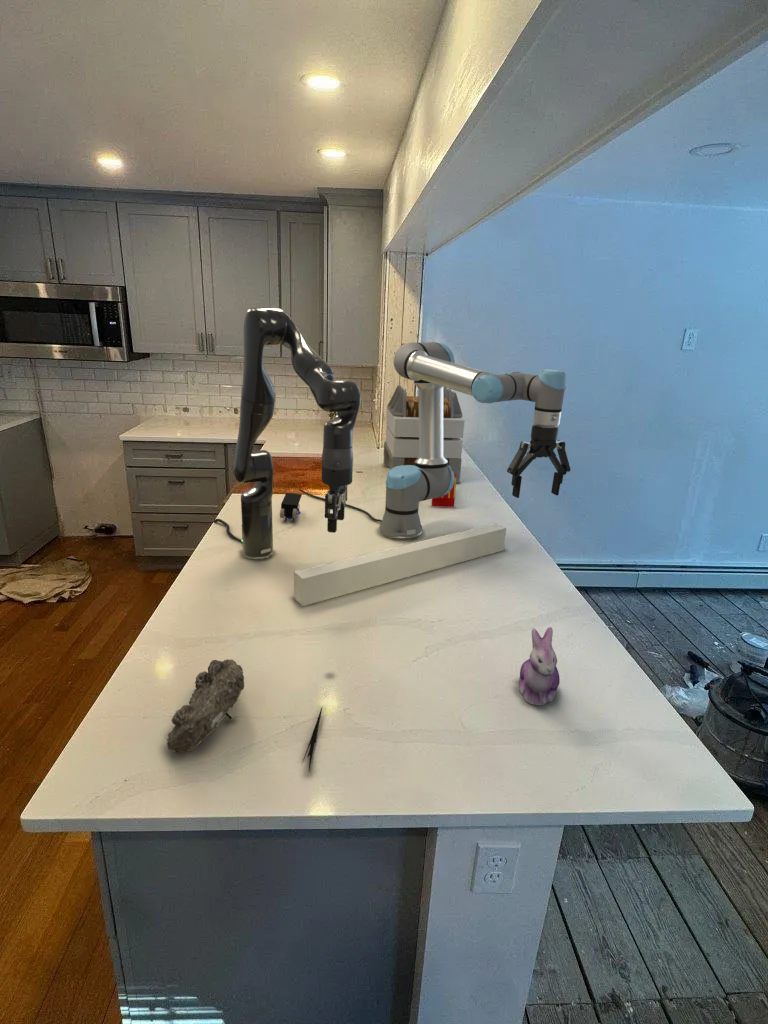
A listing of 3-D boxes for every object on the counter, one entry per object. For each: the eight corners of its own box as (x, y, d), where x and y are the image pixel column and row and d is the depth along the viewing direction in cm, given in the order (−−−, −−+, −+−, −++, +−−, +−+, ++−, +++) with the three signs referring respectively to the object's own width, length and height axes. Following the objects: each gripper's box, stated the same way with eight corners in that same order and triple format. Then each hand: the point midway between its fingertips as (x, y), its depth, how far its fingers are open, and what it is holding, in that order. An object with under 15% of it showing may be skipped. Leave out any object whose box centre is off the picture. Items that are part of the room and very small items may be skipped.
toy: (449, 465, 254) (460, 474, 224) (447, 494, 256) (458, 508, 227) (422, 464, 253) (429, 474, 224) (421, 494, 256) (428, 507, 227)
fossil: (192, 660, 117) (244, 628, 112) (224, 691, 120) (276, 661, 115) (142, 746, 98) (202, 712, 93) (182, 779, 101) (242, 748, 96)
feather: (331, 679, 122) (336, 673, 122) (307, 777, 96) (313, 769, 95) (324, 675, 122) (329, 669, 121) (298, 772, 95) (304, 764, 95)
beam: (493, 545, 194) (495, 523, 191) (503, 550, 190) (506, 527, 187) (294, 598, 153) (293, 571, 150) (302, 606, 149) (302, 578, 146)
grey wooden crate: (382, 463, 289) (386, 382, 275) (445, 464, 293) (451, 384, 279) (390, 482, 257) (394, 392, 243) (460, 483, 261) (468, 394, 247)
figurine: (537, 713, 113) (548, 649, 108) (505, 684, 121) (513, 623, 116) (572, 701, 117) (584, 638, 112) (538, 673, 125) (548, 613, 120)
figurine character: (298, 528, 204) (302, 509, 218) (297, 509, 201) (302, 491, 214) (279, 527, 204) (285, 509, 217) (278, 508, 201) (284, 491, 214)
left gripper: (329, 455, 145) (328, 514, 151) (314, 470, 132) (314, 534, 138) (358, 458, 144) (356, 517, 150) (346, 473, 131) (344, 537, 137)
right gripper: (514, 428, 156) (505, 501, 163) (590, 427, 163) (578, 496, 171) (500, 423, 162) (492, 493, 170) (574, 421, 170) (563, 489, 177)
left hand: (336, 525), depth 144 cm, fingers open, 8 cm apart
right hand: (535, 495), depth 170 cm, fingers open, 13 cm apart
